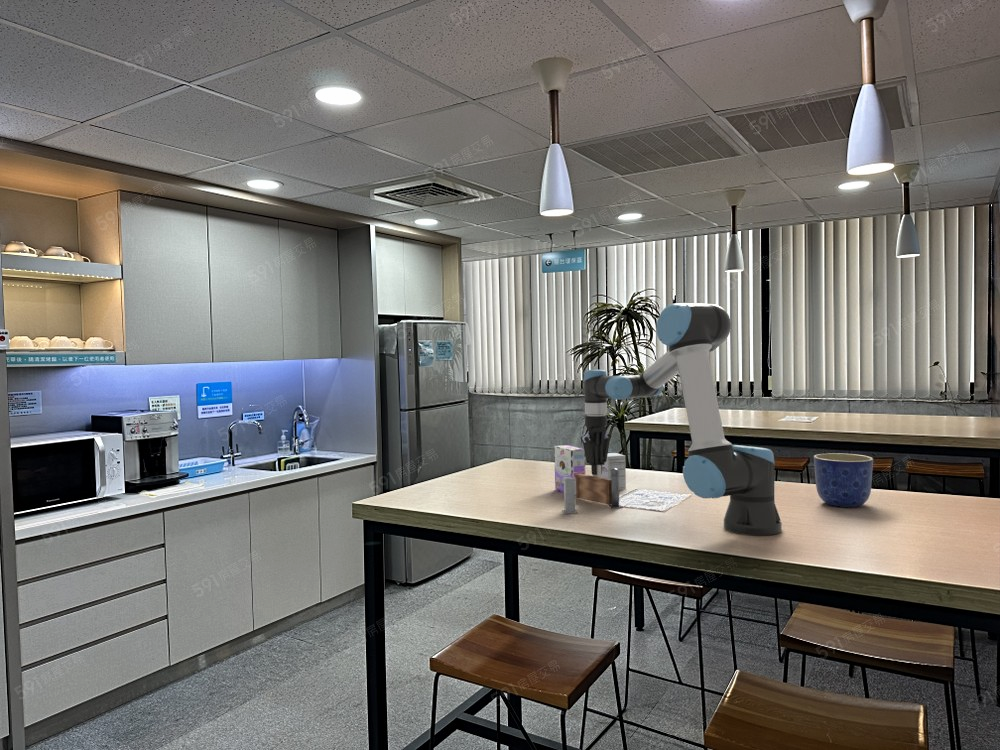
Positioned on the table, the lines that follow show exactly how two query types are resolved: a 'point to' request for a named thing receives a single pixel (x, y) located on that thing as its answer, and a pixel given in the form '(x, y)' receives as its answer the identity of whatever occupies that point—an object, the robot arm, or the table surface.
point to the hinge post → (615, 489)
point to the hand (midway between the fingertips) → (597, 483)
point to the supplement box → (619, 463)
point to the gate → (593, 489)
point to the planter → (843, 478)
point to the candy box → (568, 464)
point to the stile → (569, 495)
